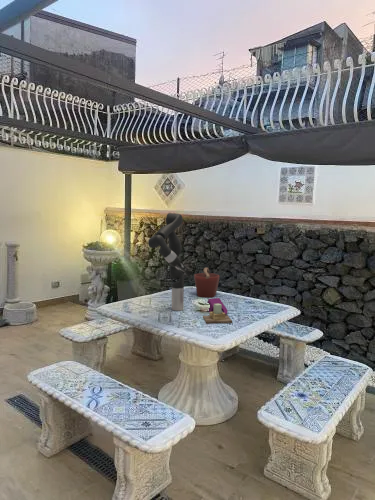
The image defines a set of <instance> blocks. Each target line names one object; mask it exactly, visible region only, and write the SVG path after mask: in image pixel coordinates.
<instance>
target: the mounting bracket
mask: <svg viewBox="0 0 375 500" xmlns="http://www.w3.org/2000/svg"><path fill="white" fill-rule="evenodd" d="M207 303H209V304H210V308H209V311H208V312H209V313H210V312H213V311H214V304H218V303H219V304H221V305H222V309H221V312H223V313H225V315H228V311H229V310H228V308H227V307H226V306H225V304H224V302H223V301H222V300H221V299H220V297H217V298H215V297H213V298H207V302H206V304H207Z"/></svg>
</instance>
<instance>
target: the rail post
mask: <svg viewBox="0 0 375 500" xmlns="http://www.w3.org/2000/svg"><path fill="white" fill-rule="evenodd" d="M221 309H222V305H221V304H219V303H218V304H214V314H221V312H222V310H221Z"/></svg>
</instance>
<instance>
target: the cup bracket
mask: <svg viewBox="0 0 375 500" xmlns="http://www.w3.org/2000/svg"><path fill="white" fill-rule="evenodd" d="M202 318H203V320H204V322H205V325H207V324H208V325H210V324H215V325H216V324H217V325H218V324H233V320H232V319H231V317H230V316H229V315H228V314H227V315H225V313H223V312H222V311H221V314H214V311H213V312H209V315H202Z"/></svg>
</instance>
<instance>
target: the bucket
mask: <svg viewBox="0 0 375 500" xmlns="http://www.w3.org/2000/svg"><path fill="white" fill-rule="evenodd" d="M193 276H194V277H193V278H194V283H195V291H196V296H197V297H198V298H204V299H213V298H215V297H216V296H217V291H218V288H219V287H218V286H219V282H220V277H221V276H220V275H219V274H217V273H212V272H210V269H209V267H204V268H203V272H201V273H194V275H193Z"/></svg>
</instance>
